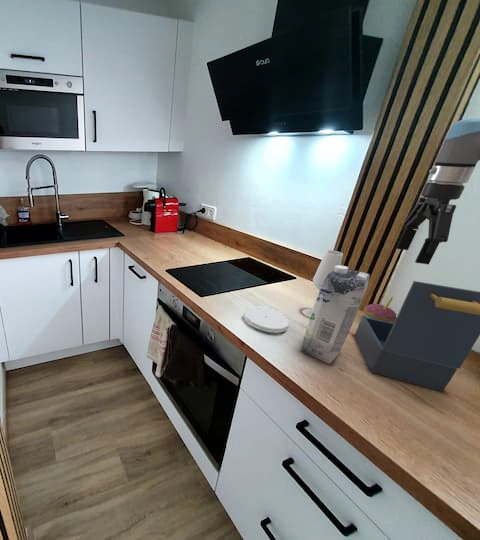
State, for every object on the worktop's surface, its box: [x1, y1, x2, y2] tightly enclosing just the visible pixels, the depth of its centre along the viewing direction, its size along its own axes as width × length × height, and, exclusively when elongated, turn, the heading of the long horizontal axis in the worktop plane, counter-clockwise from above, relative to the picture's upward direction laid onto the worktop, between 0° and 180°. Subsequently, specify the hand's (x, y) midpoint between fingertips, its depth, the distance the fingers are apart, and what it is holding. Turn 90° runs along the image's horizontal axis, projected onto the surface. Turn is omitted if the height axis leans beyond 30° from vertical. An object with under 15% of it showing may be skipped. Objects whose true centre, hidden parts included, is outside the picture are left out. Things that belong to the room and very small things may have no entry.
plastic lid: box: [243, 305, 290, 334], centre depth 97 cm, size 14×14×2 cm
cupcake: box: [363, 296, 398, 323], centre depth 97 cm, size 9×8×12 cm
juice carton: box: [301, 264, 371, 364], centre depth 79 cm, size 9×10×27 cm
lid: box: [382, 280, 480, 370], centre depth 66 cm, size 20×15×6 cm
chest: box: [354, 316, 458, 392], centre depth 81 cm, size 19×15×7 cm
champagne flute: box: [301, 249, 344, 319], centre depth 99 cm, size 7×7×24 cm
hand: (411, 255), depth 86 cm, fingers open, 13 cm apart
